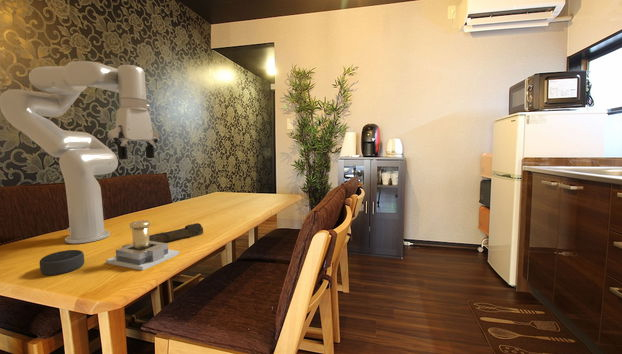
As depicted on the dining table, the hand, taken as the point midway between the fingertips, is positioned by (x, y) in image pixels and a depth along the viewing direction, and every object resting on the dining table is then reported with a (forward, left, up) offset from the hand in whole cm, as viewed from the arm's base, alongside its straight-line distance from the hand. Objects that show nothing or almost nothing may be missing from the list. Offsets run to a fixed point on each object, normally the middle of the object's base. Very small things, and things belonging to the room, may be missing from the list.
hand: (137, 158), depth 95 cm
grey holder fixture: (+14, -12, -27) cm, 33 cm away
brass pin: (+15, -12, -27) cm, 33 cm away
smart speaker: (0, -23, -29) cm, 37 cm away
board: (+14, -11, -28) cm, 33 cm away
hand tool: (+9, +6, -29) cm, 31 cm away
